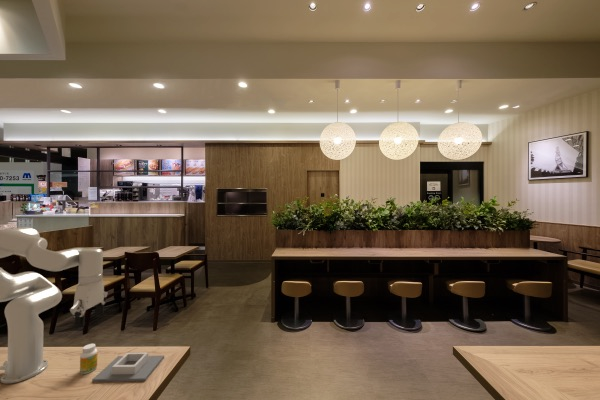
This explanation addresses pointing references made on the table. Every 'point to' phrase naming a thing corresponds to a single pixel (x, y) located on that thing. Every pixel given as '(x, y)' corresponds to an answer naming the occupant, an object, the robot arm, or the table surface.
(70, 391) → the table surface
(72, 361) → the table surface
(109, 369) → the cup holder
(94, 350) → the supplement bottle
